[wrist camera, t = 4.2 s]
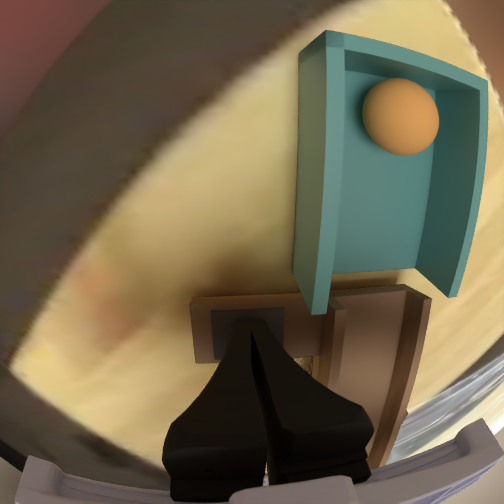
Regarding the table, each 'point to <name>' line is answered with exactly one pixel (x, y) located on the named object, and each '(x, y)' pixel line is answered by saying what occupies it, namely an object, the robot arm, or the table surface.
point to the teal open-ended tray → (383, 169)
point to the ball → (400, 116)
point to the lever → (336, 345)
